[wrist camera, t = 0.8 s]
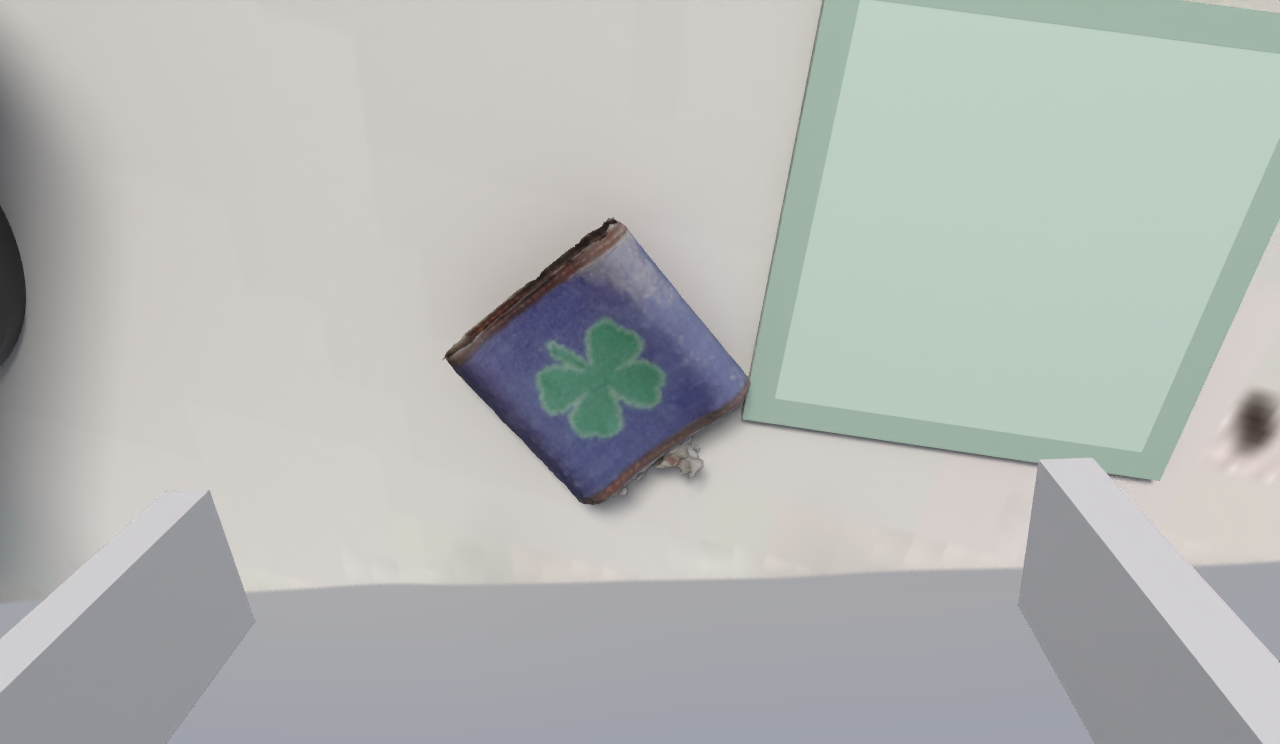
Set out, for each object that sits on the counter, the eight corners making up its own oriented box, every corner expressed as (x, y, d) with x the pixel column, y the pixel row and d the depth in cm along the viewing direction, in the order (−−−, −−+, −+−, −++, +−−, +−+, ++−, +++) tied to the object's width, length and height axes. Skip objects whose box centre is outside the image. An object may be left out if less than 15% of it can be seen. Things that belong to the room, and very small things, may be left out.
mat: (741, 413, 35) (742, 419, 34) (831, -44, 28) (833, -45, 27) (1152, 473, 34) (1159, 480, 34) (1354, 24, 27) (1367, 25, 26)
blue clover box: (614, 223, 29) (783, 427, 32) (618, 206, 31) (773, 396, 35) (434, 368, 31) (608, 545, 34) (451, 341, 34) (611, 507, 37)
